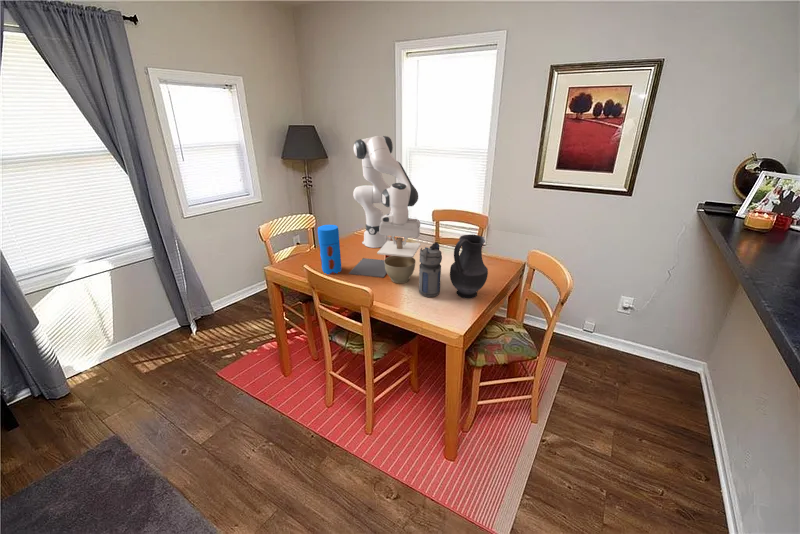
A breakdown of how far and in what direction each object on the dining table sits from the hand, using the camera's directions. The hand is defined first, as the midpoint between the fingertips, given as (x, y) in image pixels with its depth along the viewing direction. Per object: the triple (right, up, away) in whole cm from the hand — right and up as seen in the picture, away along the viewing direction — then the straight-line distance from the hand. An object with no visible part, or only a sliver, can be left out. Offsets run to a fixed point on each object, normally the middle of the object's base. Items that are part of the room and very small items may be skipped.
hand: (399, 244), depth 173 cm
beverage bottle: (+15, -24, -5) cm, 29 cm away
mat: (-15, -12, +22) cm, 29 cm away
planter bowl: (0, -18, +8) cm, 20 cm away
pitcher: (+31, -25, -8) cm, 41 cm away
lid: (0, -2, +1) cm, 3 cm away
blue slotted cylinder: (-38, -13, +20) cm, 45 cm away
